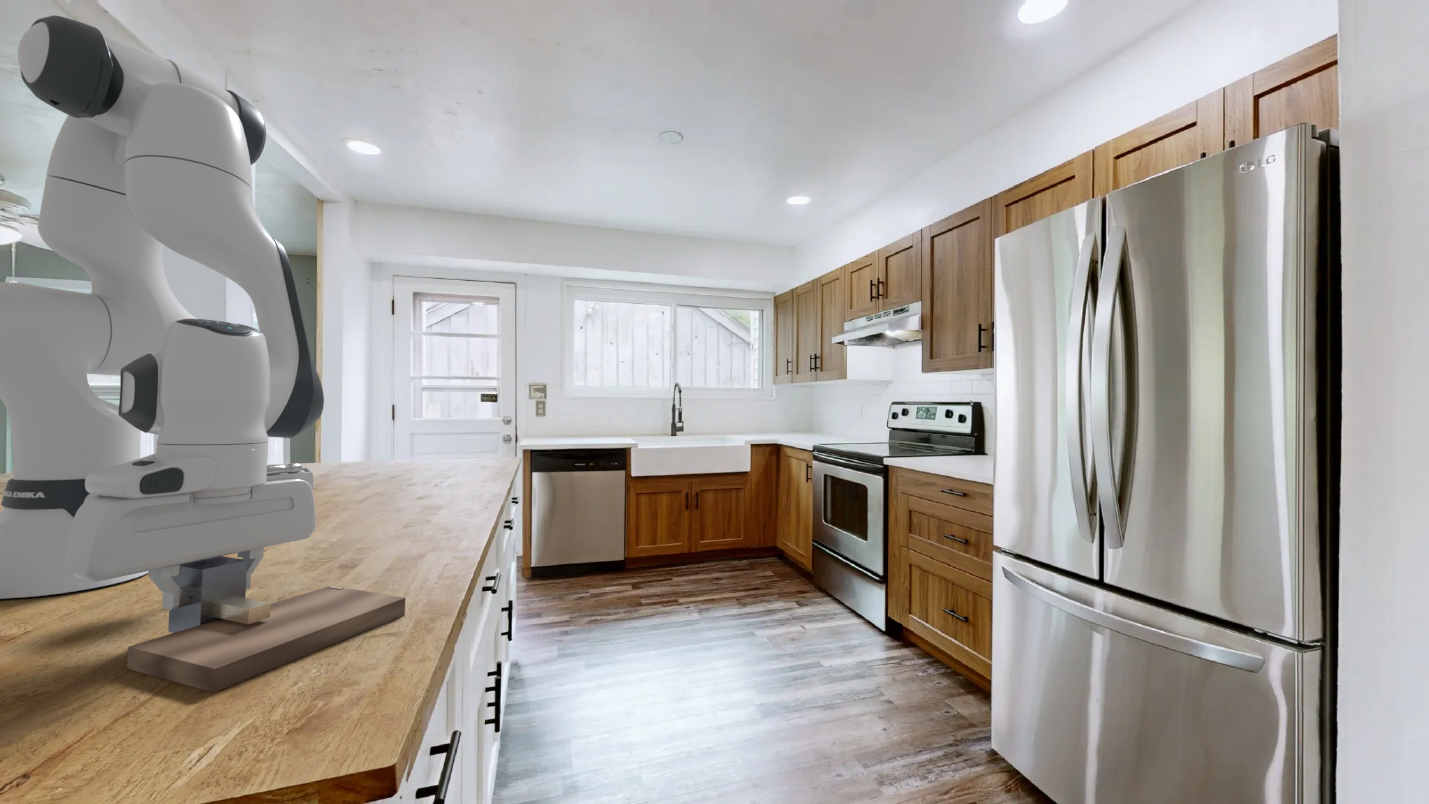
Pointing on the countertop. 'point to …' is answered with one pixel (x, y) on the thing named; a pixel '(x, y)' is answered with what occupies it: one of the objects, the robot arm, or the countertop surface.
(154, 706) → the countertop surface
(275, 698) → the countertop surface
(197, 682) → the board
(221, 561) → the upright grey metal block
